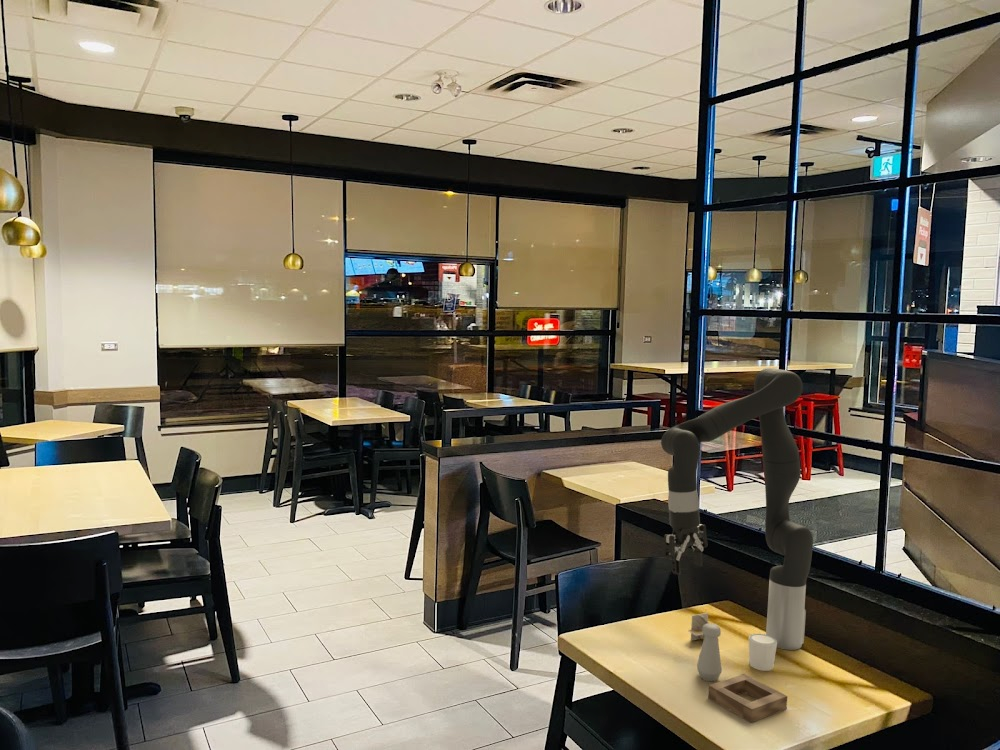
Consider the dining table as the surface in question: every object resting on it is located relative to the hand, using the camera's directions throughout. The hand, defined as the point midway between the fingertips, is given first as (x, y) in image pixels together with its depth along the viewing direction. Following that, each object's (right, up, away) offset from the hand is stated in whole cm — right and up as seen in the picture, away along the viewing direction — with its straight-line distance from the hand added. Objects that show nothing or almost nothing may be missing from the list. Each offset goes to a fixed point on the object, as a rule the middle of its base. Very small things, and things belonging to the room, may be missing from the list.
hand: (687, 569), depth 190 cm
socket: (+8, -25, -21) cm, 34 cm away
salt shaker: (+3, -24, -9) cm, 26 cm away
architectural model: (+7, -23, +12) cm, 27 cm away
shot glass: (+18, -24, -2) cm, 30 cm away
